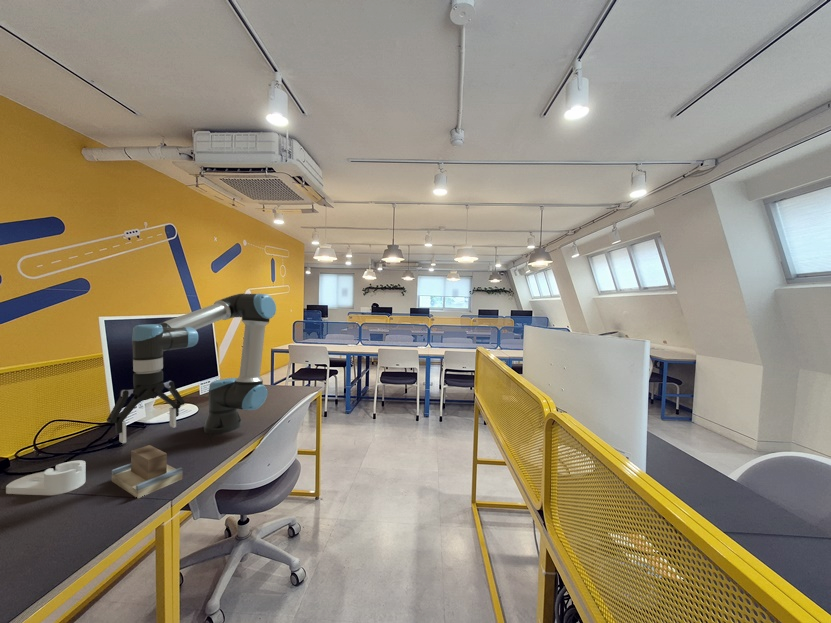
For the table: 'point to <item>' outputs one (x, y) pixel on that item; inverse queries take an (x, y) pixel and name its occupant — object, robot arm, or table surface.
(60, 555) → the table surface
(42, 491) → the white elongated piece
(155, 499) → the table surface
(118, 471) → the cream tray
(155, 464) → the brown boxy block
